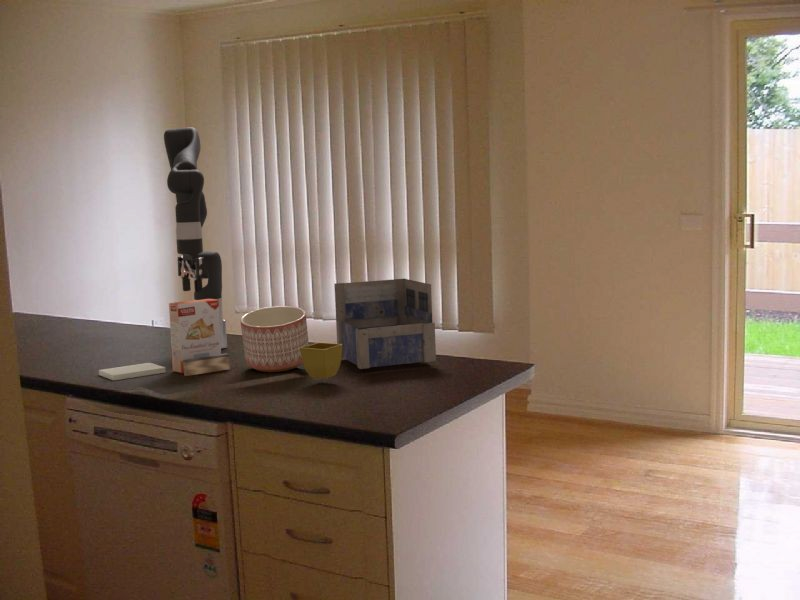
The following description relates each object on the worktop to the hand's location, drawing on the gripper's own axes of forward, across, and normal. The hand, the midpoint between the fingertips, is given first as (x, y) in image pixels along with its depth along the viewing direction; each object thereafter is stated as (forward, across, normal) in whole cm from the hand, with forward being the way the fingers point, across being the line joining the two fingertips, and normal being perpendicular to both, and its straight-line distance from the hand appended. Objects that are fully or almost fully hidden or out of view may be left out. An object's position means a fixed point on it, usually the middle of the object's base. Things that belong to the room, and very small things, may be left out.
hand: (192, 291), depth 283 cm
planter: (+22, -16, -19) cm, 33 cm away
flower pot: (+24, -39, -20) cm, 50 cm away
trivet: (+24, +9, +17) cm, 30 cm away
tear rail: (+24, -6, 0) cm, 24 cm away
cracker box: (+24, 0, 0) cm, 24 cm away
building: (+24, -28, -50) cm, 62 cm away
